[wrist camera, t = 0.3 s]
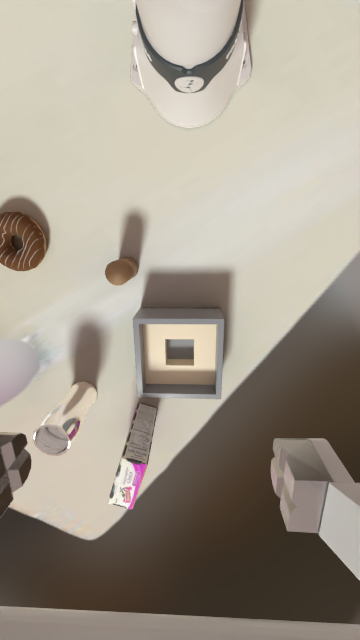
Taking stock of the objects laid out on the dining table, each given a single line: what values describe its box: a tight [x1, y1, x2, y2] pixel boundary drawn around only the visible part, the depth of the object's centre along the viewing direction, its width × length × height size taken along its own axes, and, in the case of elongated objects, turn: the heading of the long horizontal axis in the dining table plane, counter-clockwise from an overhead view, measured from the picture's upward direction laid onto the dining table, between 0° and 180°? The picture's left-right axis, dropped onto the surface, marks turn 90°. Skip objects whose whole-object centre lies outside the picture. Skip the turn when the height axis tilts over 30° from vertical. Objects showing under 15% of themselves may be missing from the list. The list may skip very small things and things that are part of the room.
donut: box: [0, 212, 46, 271], centre depth 51 cm, size 11×11×4 cm
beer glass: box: [33, 381, 97, 456], centre depth 55 cm, size 7×7×15 cm
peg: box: [105, 257, 138, 285], centre depth 49 cm, size 4×4×8 cm
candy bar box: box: [108, 403, 158, 509], centre depth 56 cm, size 11×5×16 cm, turn 163°
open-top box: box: [133, 308, 224, 399], centre depth 54 cm, size 16×16×8 cm
